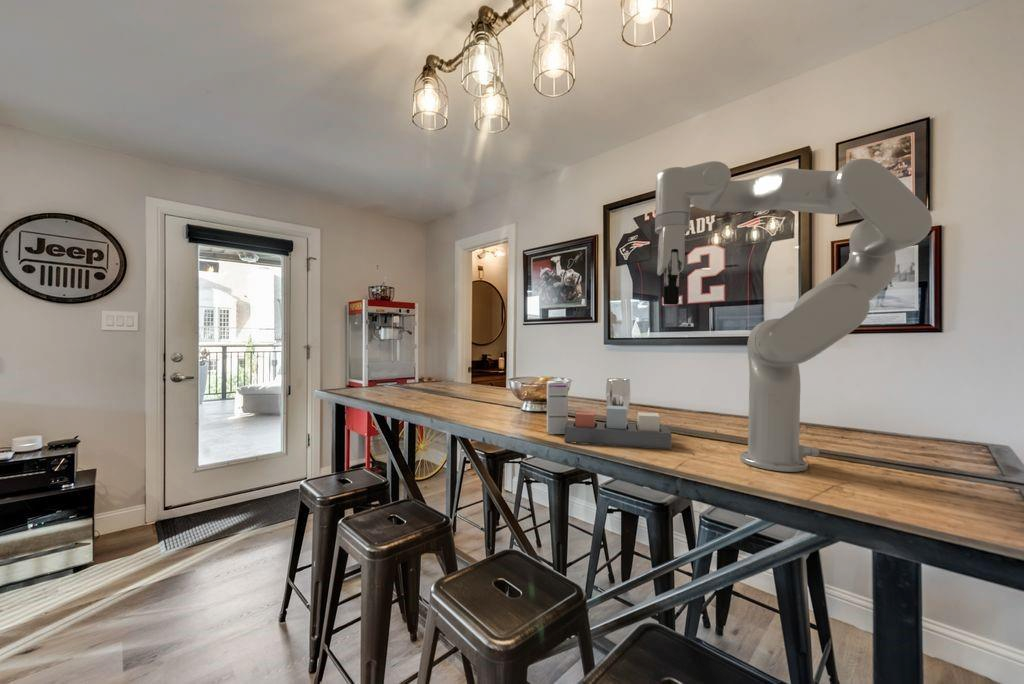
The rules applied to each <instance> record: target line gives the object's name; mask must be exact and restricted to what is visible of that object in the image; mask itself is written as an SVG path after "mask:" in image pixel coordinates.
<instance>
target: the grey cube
mask: <svg viewBox="0 0 1024 684" xmlns="http://www.w3.org/2000/svg"><path fill="white" fill-rule="evenodd" d="M605 423H606V428H616V429H627V424H628V414H627V408H626V406H607V405H606V422H605Z"/></svg>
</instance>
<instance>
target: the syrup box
mask: <svg viewBox="0 0 1024 684" xmlns="http://www.w3.org/2000/svg"><path fill="white" fill-rule="evenodd" d="M568 386H569V384H568V383H567V382H566V381H565V380H550V381H549V380H548V381H546V431H547V434H548V435H554V434H565V425H566V423H567V422H568V421H569V404H568V403H569V397H568V396H569V394H568V393H569V392H568V391H569V390H568V389H569V387H568Z"/></svg>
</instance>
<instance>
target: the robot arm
mask: <svg viewBox="0 0 1024 684" xmlns="http://www.w3.org/2000/svg"><path fill="white" fill-rule="evenodd" d="M731 177H732V173H731V170H730V168H729V166H728V165H727V164H726V163H725V162H721V161H716V160H715V161H714V160H712V161H706V162H702V163H697V164H695V165H690V166H686V167H685V166H684V167H681V166H673V167H667V168H665V169H662V170H661V171H659V172H658V173H657V175H656V178H655V212H654V213H655V216H654V217H655V218H654V219H655V221H654V223H655V224H654V233H655V234H656V235H658V248H657V266H656V267H657V269H656V271H657V272H656V274H657V276H661V275H662V274H663V300H662V301H663V302H662V303H663V305H667V306H669V305H670V306H671V305H673V306H675V305H676V306H678V305H679V303H680V286H679V285H680V283H679V282H680V273H681V272H682V271H683V270H684V268H685V266H684V265H685V254H686V253H685V252H686V251H685V247H686V243H685V242H686V241H685V240H686V234H685V233H687V232H689V231H690V230H691V228H690V227H691V205H692V206H693V207H695V208H697V209H700V210H705V211H715V212H722V213H724V212H725V213H742V212H743V213H744V212H761V211H762V212H763V211H769V210H774V211H775V210H776V211H777V210H778V211H786V212H787V211H790V212H800V213H801V212H802V213H810V214H811V213H812V214H821V215H822V214H823V215H842V214H843V215H844V214H846V213H850V212H851V211H853V210H856V211H857V212H858V213H859V215H861V217H863V220H861V221H860V222H858V224H857V225H856V226H855V227H854V228H853V230H852V231H851V233H850V237H849V242H848V243H849V245H848V246H849V258H848V260H847V262H846V263H845V264H844V265H843V266H842V267H841V268H839V269H838V270H836V272H834V273H833V274H831V275H829V277H827V278H825V280H823V281H822V282H820V283H819V284H817V285H816V286H814V287H812V288H811V289H810V290H807V291H806V292H805V293H803V294H802V295H801V296H800V297H799V298H798V299H797V301H796V303H795V304H794V306H793V309H792V310H791V311H789V312H788V313H787V314H784V316H782V317H780V318H770V319H766V320H763V321H762V322H759V323H758V324H756V325H755V326H754V327H753V328H752V329H751V331H750V333H749V336H748V338H747V345H746V349H747V359H748V372H749V376H748V377H749V383H748V385H749V386H748V387H749V390H748V426H747V427H748V428H747V429H748V433H747V434H748V435H747V451H743V452H741V453H740V454H739V459H740V461H741V462H743V463H744V464H746V465H749V466H752V467H756V468H760V469H762V470H763V469H764V470H767V471H773V472H775V471H776V472H782V473H783V472H785V473H798V472H799V473H800V472H804V471H806V470H808V462H807V461H806V460H804V458H806V457H807V456H808V457H817V456H819V455H820V449H819V448H818V447H816V446H806V447H805V446H804V445H803V444H800V425H801V424H800V420H801V418H800V415H801V414H800V413H801V373H800V367H799V365H801V364H802V363H805V362H807V361H809V360H811V359H813V358H815V357H816V356H819V354H822V353H823V351H826V349H828V348H830V347H831V346H833V345H834V344H836V343H837V342H839V341H841V340H842V339H843V338H844V337H846V336H847V335H849V334H850V333H852V332H853V331H854V330H856V329H857V328H858V327H860V326H861V325H862V323H863V322H864V321H865V320H866V318H867V316H868V315H869V313H870V312H869V311H870V308H871V302H870V301H871V300H872V299H873V298H875V297H876V296H878V295H879V294H881V293H882V291H884V290H886V288H888V286H889V285H890V283H891V282H892V280H893V278H894V275H895V271H896V264H897V262H896V257H897V256H896V252H898V251H900V250H903V249H907V248H910V247H913V246H914V245H916V244H919V243H920V242H921V241H923V240H925V238H927V236H928V234H929V233H930V231H931V229H932V225H933V218H932V215H931V212H930V210H929V208H928V207H927V205H926V204H924V203H923V201H922V200H921V199H920V198H918V196H917V195H915V194H914V193H913V192H912V190H910V189H909V188H908V187H907V186H906V184H905V183H904V182H902V180H901V179H899V178H898V177H897V176H896V174H895V173H893V172H892V171H891V170H889V169H888V168H887V167H886V166H885V165H883V164H881V163H879V162H878V161H875V159H874V160H873V159H869V158H858V159H854V160H850V161H849V162H847V163H846V164H844V165H843V166H842V167H840V168H839V169H838V170H818V169H804V168H803V169H802V168H792V167H791V168H790V167H784V168H779V169H775V170H773V171H770V172H767V173H765V174H762V175H760V176H757V177H754V178H749V179H741V180H740V179H739V180H731Z"/></svg>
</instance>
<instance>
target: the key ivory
mask: <svg viewBox="0 0 1024 684" xmlns="http://www.w3.org/2000/svg"><path fill="white" fill-rule="evenodd" d="M660 418H661V417H660V415H659V413H658V412H645V411H644V412H642V411H638V412H637V424H638V428H637V430H643V431H659V432H660V426H661V425H660V423H661V419H660Z"/></svg>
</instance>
